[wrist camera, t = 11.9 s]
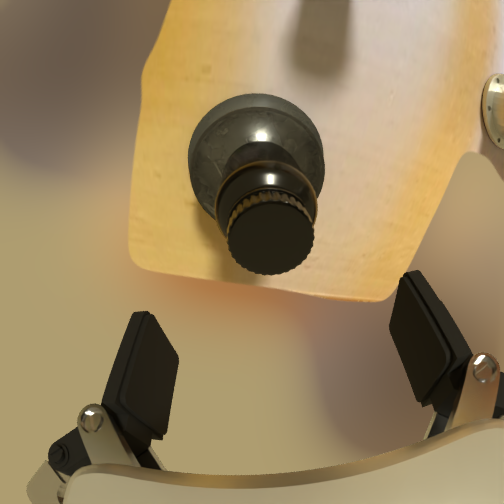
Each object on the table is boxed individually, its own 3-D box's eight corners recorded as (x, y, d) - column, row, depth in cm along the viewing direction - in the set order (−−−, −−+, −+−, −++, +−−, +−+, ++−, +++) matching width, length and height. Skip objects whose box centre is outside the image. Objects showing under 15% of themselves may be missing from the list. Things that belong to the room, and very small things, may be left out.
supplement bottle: (312, 175, 25) (356, 242, 15) (260, 220, 27) (268, 307, 17) (260, 122, 22) (274, 153, 12) (207, 175, 25) (181, 244, 15)
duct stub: (312, 85, 25) (327, 85, 20) (325, 207, 33) (339, 231, 28) (175, 110, 26) (159, 115, 21) (207, 227, 34) (200, 253, 29)
